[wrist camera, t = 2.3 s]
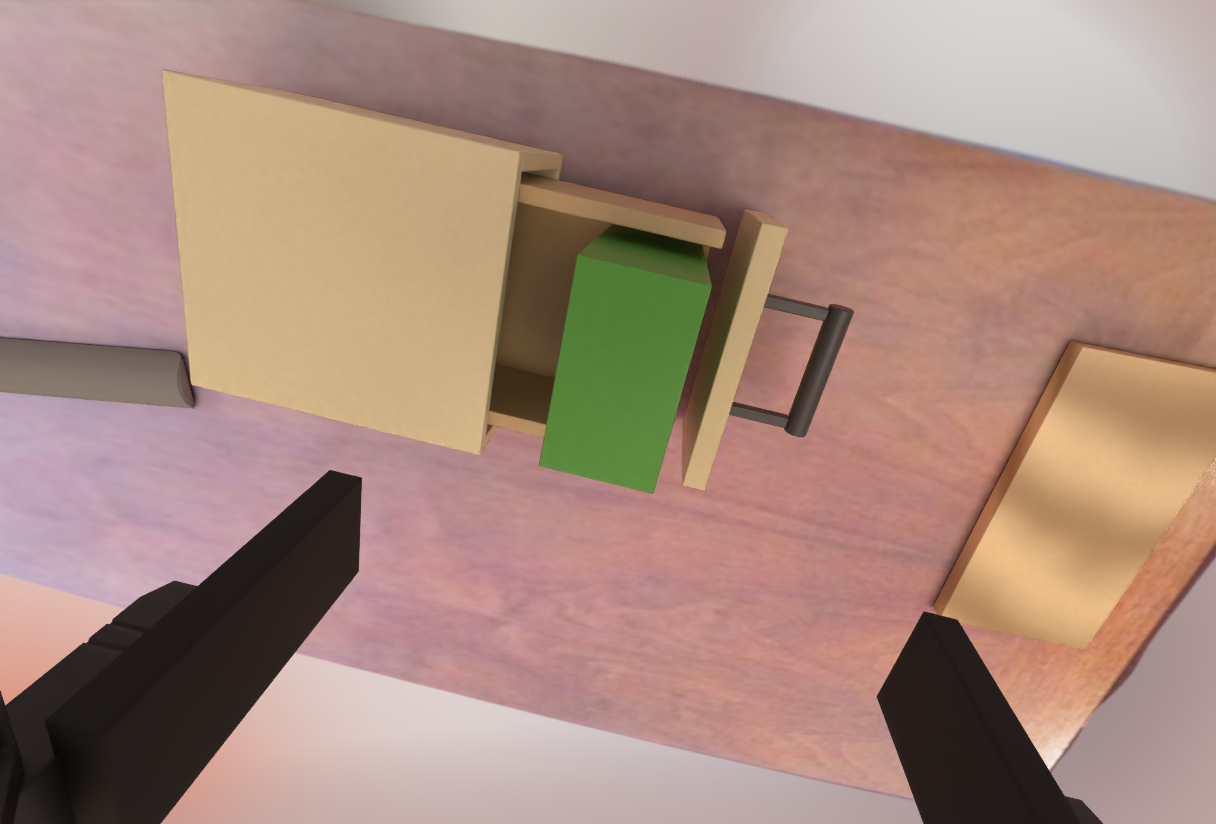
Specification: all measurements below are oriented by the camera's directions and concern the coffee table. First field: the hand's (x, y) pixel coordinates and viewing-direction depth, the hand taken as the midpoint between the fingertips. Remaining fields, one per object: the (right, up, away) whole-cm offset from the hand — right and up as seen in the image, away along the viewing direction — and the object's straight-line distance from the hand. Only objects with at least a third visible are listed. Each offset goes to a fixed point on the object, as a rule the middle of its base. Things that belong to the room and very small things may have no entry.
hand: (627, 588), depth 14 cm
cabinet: (-12, +14, +22) cm, 29 cm away
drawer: (+2, +10, +21) cm, 24 cm away
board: (+29, -2, +24) cm, 38 cm away
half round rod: (-39, +7, +29) cm, 49 cm away
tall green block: (+1, +10, +20) cm, 23 cm away
